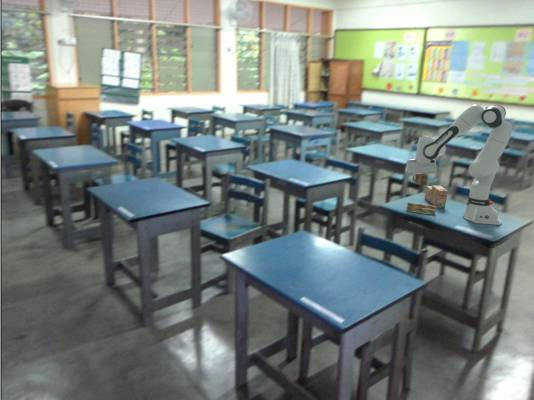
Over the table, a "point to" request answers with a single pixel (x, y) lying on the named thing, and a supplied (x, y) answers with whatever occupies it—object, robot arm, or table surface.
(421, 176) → the walnut block
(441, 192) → the stack of blocks
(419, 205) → the tan shallow tray
